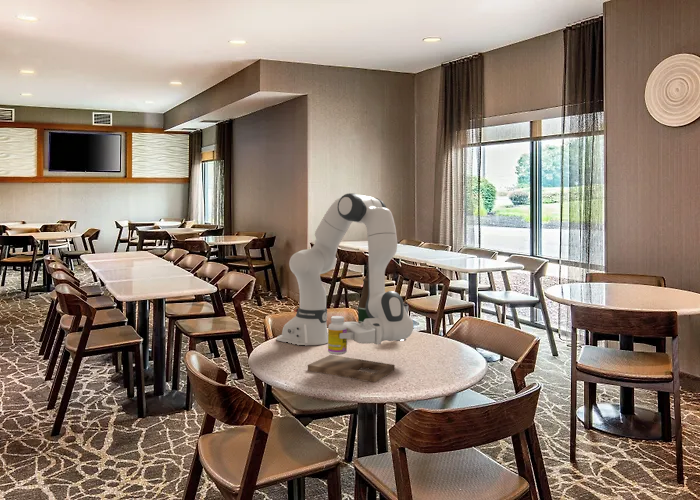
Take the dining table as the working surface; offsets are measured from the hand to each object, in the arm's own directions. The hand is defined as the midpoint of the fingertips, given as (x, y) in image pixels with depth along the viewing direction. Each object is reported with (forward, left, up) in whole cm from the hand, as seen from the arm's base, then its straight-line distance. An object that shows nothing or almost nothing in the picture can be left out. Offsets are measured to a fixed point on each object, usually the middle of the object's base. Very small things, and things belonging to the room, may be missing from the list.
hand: (335, 333), depth 214 cm
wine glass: (+1, +53, -13) cm, 54 cm away
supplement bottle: (+1, +1, -7) cm, 7 cm away
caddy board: (+6, +1, -13) cm, 14 cm away
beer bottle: (-18, +60, -13) cm, 63 cm away
